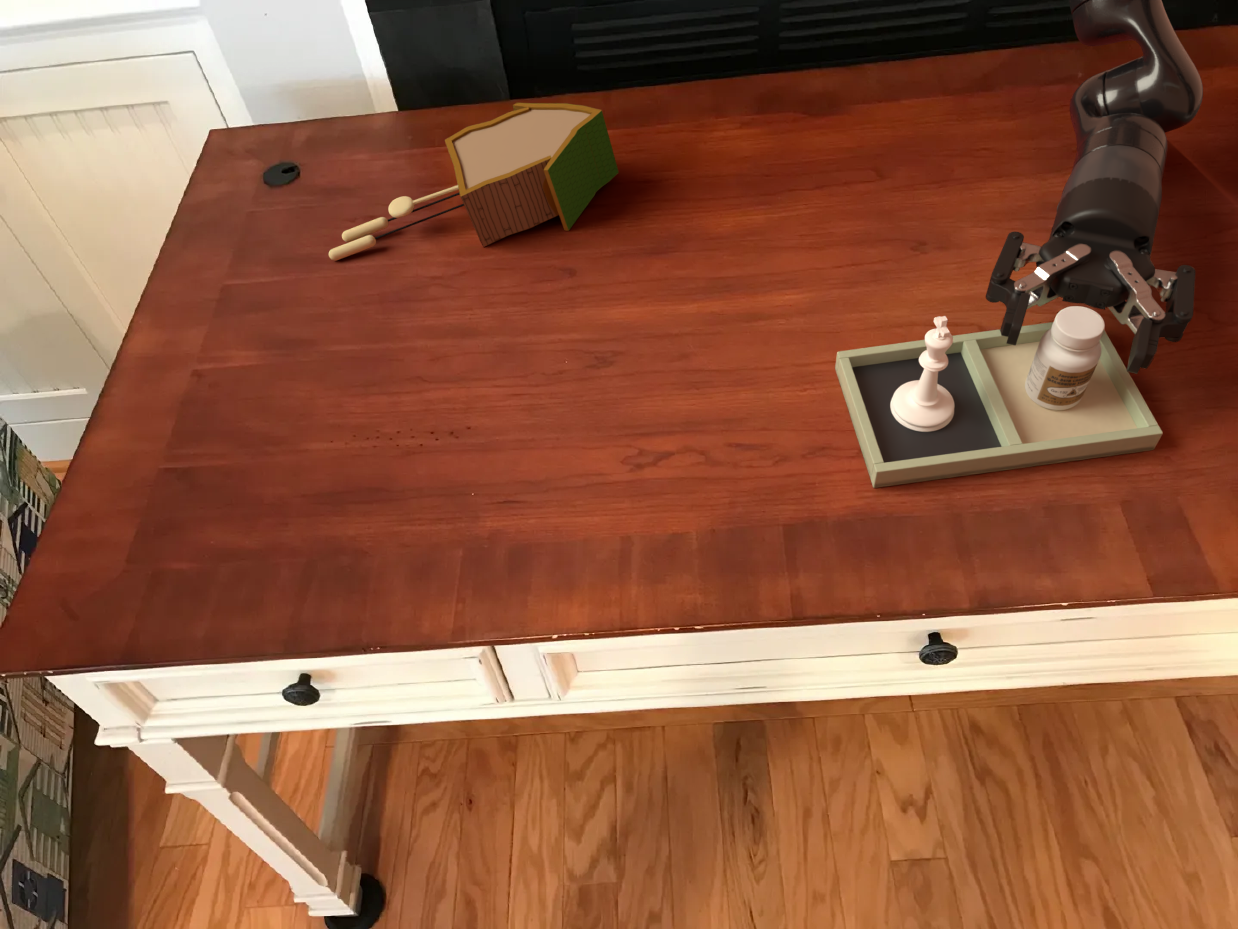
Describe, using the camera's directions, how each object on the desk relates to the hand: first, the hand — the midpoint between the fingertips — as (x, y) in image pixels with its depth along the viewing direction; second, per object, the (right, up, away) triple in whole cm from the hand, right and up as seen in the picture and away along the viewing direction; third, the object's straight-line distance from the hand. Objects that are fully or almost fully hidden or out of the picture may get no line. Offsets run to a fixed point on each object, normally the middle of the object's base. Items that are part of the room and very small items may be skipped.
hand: (1073, 350), depth 72 cm
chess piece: (-9, -4, +7) cm, 12 cm away
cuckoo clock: (-48, +17, +28) cm, 58 cm away
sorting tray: (-4, -4, +7) cm, 9 cm away
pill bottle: (+1, -3, +6) cm, 7 cm away
